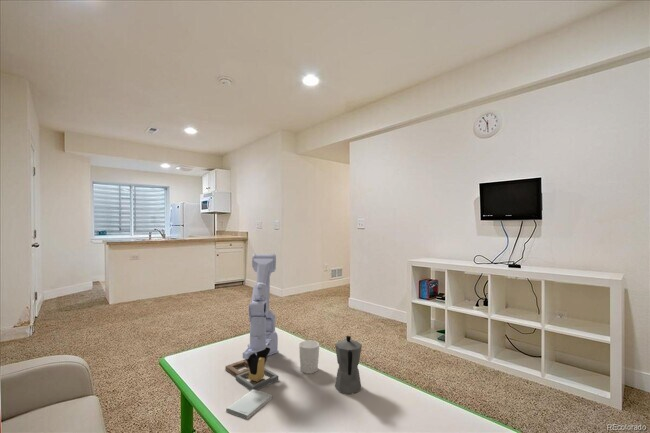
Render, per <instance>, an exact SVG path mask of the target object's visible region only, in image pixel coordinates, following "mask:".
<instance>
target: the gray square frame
mask: <svg viewBox="0 0 650 433" xmlns="http://www.w3.org/2000/svg"><path fill="white" fill-rule="evenodd" d="M265 375H266V376H267V377H269V378H266V379H264V380H262V381H261V380H260V381H258V382H257V383H255V384H253V383H251V382H250V381H248V380H247V379H246V378H249V371H247V372H244V373H242V374H239V375H236V377H235V380H236V381H237V382H239V383H240V384H241V385H242V386H244V387H245V388H247V389H249V390H250V391H251V390H253V389H254V390H257V391H258V390H260V389H262V388H264V387H266V386H268V385H270V384H273V383H275V382H277V381H279V375H278V374H276V373H274V372H273V371H271V370H269V369H267V368H266V367H264V376H265Z"/></svg>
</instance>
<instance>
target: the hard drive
mask: <svg viewBox="0 0 650 433" xmlns="http://www.w3.org/2000/svg"><path fill="white" fill-rule="evenodd" d="M272 398H273V396H272V394H270V393H266V392H264V391H261V390H258V389H257V390H254V389H253V390H250V391H249V392H247V393H246V394H244V395H243V396H242V397H240V398H239V399H238V400H236V401H234V402H233V403H232V404H230V405H229V406H228V407H227V408H226V409H225V410H226V413H229V414H231V415H235V416H237V417H240V418H244V419H246V420H248V419H249V418H251V416H253V415H254V414H255V413H257V411H259V410H260V409H261V408H263V406H264V405H266V404H267V403H268V402H269V401H270V400H272Z"/></svg>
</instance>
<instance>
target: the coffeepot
mask: <svg viewBox="0 0 650 433" xmlns="http://www.w3.org/2000/svg"><path fill="white" fill-rule="evenodd" d="M345 337H346V338H344V339H342V340H338V341H337V342H336V343H335V344H334V345H335V353H336V360H337V364H338V368H337V372H336V378H335V384H334V387H335V389H336V391H338V392H339V393H341V394H344V393H346V394H345V395H352V393H354V394H357V393H358V392H360V391H361V389H362V384H361V383H362V382H361V376H360V371H359V364H360V358H361V353H362V347H363V346H362V345H363V344H361V343H360V342H359V341H357V340H352V337H351V335H347V336H345ZM356 392H357V393H356Z"/></svg>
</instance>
